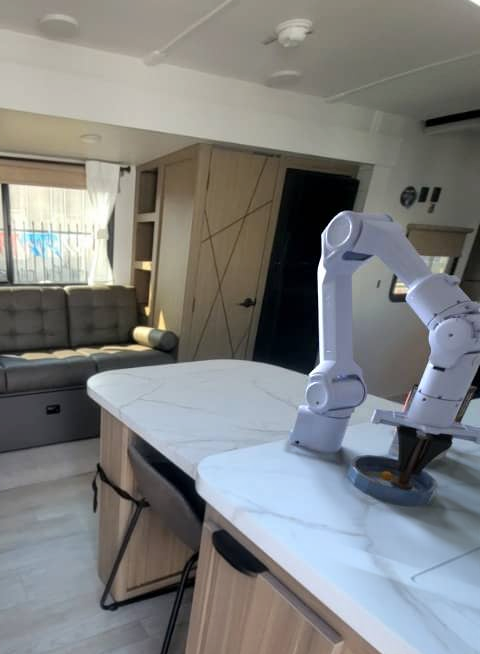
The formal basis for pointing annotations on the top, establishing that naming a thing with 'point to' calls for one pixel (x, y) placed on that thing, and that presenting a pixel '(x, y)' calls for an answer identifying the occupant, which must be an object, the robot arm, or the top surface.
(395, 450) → the coffee box
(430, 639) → the top surface
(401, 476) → the stick
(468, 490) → the top surface
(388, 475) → the bead
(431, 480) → the bowl
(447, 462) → the top surface
